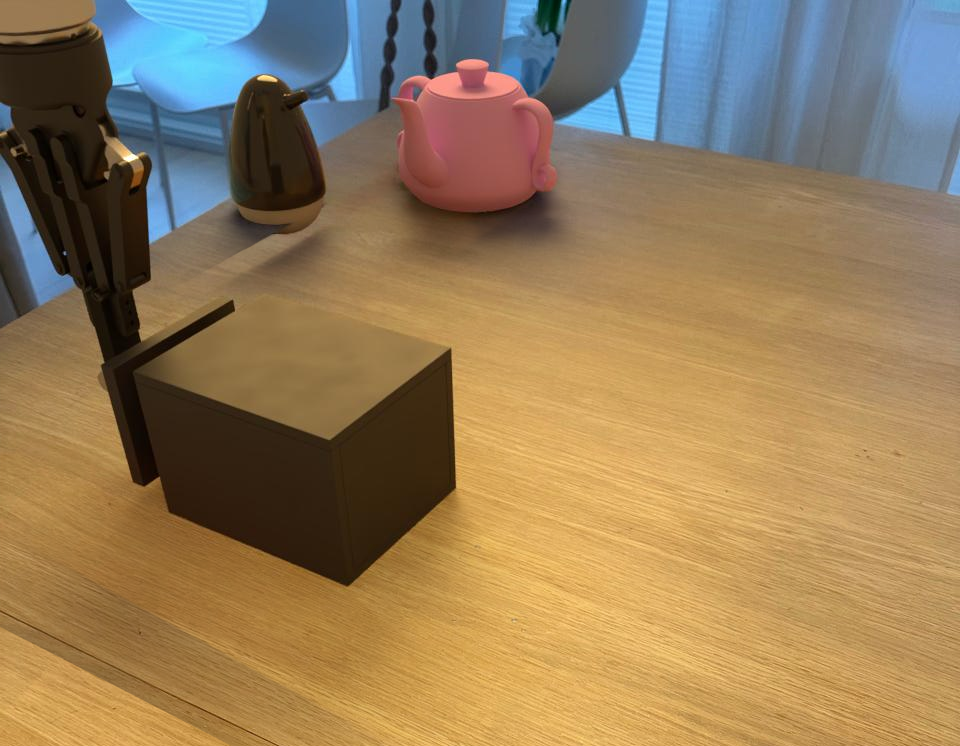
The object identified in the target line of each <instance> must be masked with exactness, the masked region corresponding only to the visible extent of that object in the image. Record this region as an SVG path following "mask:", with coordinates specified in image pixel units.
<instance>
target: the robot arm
mask: <svg viewBox="0 0 960 746" xmlns="http://www.w3.org/2000/svg"><path fill="white" fill-rule="evenodd" d="M97 11H98V10H97V6H96V2H95V0H0V103H1V104H2V105H4V106H6V107H8V108H10V111H9V112H10V114H9V115H10V120H11V123H12V124H11V125H10V127H9V128H8V129H7V130H4V131H2V132H0V156H1V157H2V159H3V161H4V162H5V163H6V165H7V166H8V168H9V170H10V171H11V173H12V175H13V178H14V180H15V183H16V184H17V187H18V189H19V191H20V194H21V196H22V198H23V200H24V203H25V205H26V208H27V210H28V212H29V213H30V217H31V218H32V221H33V224H34V226H35V228H36V230H37V233H38V235H39V237H40V239H41V241H42V244H43V246H44V249H45V250H46V253H47V255H48V257H49V260H50V262H51V264H52V266H53V269H54V270H55V272H56V273H57V274H58V276H60V277H64V276H66V275H68V276H69V277H70V278H72V281H73V283H74V285H75V287H77V288H78V289H79V290H81V292H82V293H81V294H82V296H83V300H84V303H85V307H86V310H87V314H88V318H89V321H90V322H91V325H92V327H94V331H95V334H96V337H97V340H98V344H99V349H100V352H101V355H102V359H103V363H105V362H107V361H108V360H110V359H112V358H114V357H115V356H117V355H119V354H121V353H122V352H124V351H126V350H128V349H130V348H131V347H133V346H135V345H137V344H138V343H140V342H142V339H141V334H140V331H139V330H141V321H140V317H139V314H138V310H137V305H136V302H135V297H134V292H133V291H134V290H135V289H138V288H140V287H141V286H143V285H145V284H147V283H149V282H151V280H152V272H151V249H150V229H149V212H148V211H149V210H148V191H147V190H148V189H147V188H148V187H147V186H148V183H149V180H150V176H151V172H152V169H153V163H152V159H151V157H150V156H149V155H148V154H147V153H146V152H144V151H141V152H139V153H136V154H133V153H132V152H131V151H130V150H129V149H128V148H127V147H126V146H125V145H124V144H123V143H122V142H121V141H120V140H119V131H118V127H117V125H116V123H115V121H114V120H113V117H112V115H111V114H110V111H109V109H108V106H107V98H108V95H109V93H110V91H111V89H112V87H113V84H114V80H113V79H114V78H113V74H112V69H111V66H110V65H111V64H110V60H109V57H108V52H107V47H106V43H105V39H104V34H103V31H102V29H101V28H99V27H98V26H97V25H96V24H95V23H94V22H92V20H93V19H94V18H95V16H96V15H97Z"/></svg>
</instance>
